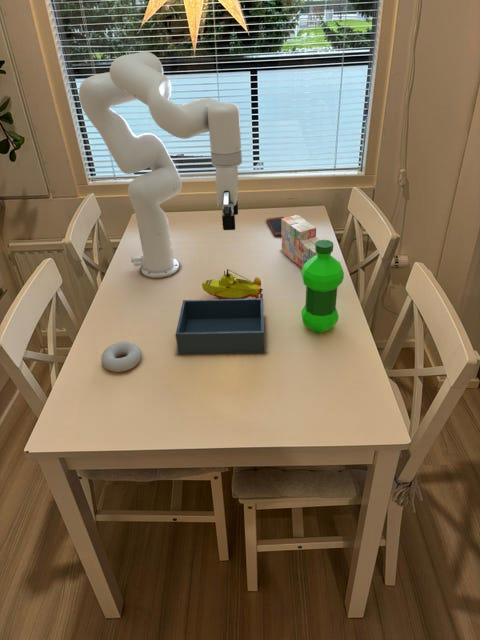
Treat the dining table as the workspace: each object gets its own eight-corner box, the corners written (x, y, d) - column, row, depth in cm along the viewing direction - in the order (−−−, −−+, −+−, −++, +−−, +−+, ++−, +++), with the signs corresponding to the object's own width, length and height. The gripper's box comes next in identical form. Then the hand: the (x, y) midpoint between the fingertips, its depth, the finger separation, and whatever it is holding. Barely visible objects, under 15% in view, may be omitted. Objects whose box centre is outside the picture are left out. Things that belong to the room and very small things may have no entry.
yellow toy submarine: (260, 306, 138) (260, 276, 132) (201, 302, 141) (197, 272, 136) (264, 294, 143) (263, 265, 137) (206, 290, 147) (203, 261, 141)
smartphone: (275, 234, 173) (266, 218, 185) (275, 237, 174) (266, 220, 186) (294, 232, 174) (284, 216, 186) (293, 234, 175) (283, 218, 187)
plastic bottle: (336, 340, 124) (344, 255, 109) (296, 334, 127) (298, 251, 112) (340, 318, 132) (349, 236, 117) (303, 313, 134) (306, 232, 120)
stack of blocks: (329, 274, 151) (332, 239, 144) (312, 279, 149) (314, 243, 142) (296, 246, 167) (297, 213, 160) (280, 250, 165) (281, 217, 158)
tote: (178, 354, 122) (175, 334, 118) (185, 319, 135) (183, 300, 131) (264, 353, 121) (263, 332, 117) (263, 317, 134) (263, 298, 130)
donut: (94, 366, 120) (123, 379, 115) (91, 356, 118) (120, 368, 113) (122, 345, 127) (150, 356, 122) (119, 334, 125) (148, 345, 120)
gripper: (215, 147, 125) (220, 209, 135) (207, 169, 111) (213, 236, 121) (243, 147, 125) (246, 208, 135) (239, 168, 111) (242, 235, 121)
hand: (230, 221), depth 128 cm, fingers open, 9 cm apart
